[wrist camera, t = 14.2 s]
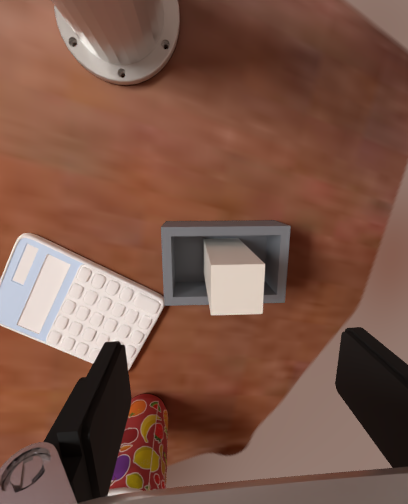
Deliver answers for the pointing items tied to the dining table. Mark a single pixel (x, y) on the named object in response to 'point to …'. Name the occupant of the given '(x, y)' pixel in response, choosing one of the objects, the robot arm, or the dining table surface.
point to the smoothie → (142, 448)
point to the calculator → (73, 301)
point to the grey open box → (192, 256)
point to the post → (233, 277)
